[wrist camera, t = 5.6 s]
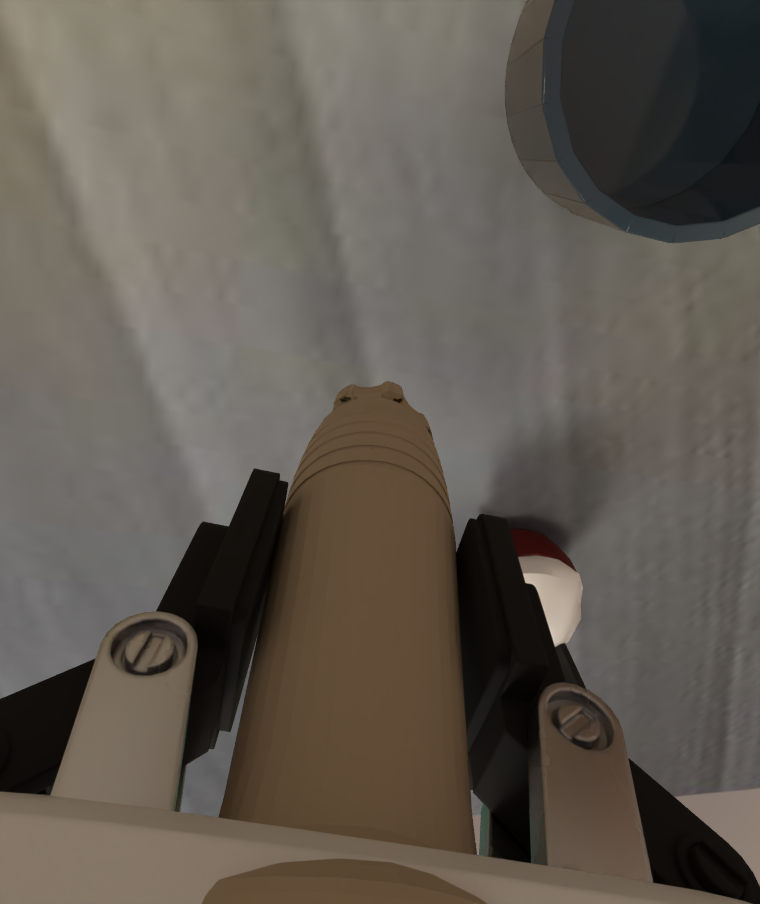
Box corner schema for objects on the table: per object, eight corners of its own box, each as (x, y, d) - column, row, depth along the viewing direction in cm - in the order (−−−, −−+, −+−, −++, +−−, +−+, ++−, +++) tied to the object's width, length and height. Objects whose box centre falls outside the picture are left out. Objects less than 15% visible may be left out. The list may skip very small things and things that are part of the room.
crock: (560, -140, 21) (631, -267, 14) (839, -57, 21) (1021, -142, 15) (472, 189, 26) (496, 200, 19) (701, 245, 26) (794, 273, 20)
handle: (448, 315, 16) (686, 1117, 3) (456, 504, 19) (590, 1308, 6) (279, 331, 16) (-185, 1114, 3) (314, 514, 19) (147, 1296, 6)
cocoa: (452, 505, 33) (478, 670, 23) (561, 488, 33) (641, 651, 22) (472, 624, 38) (501, 809, 27) (568, 612, 37) (638, 797, 26)
